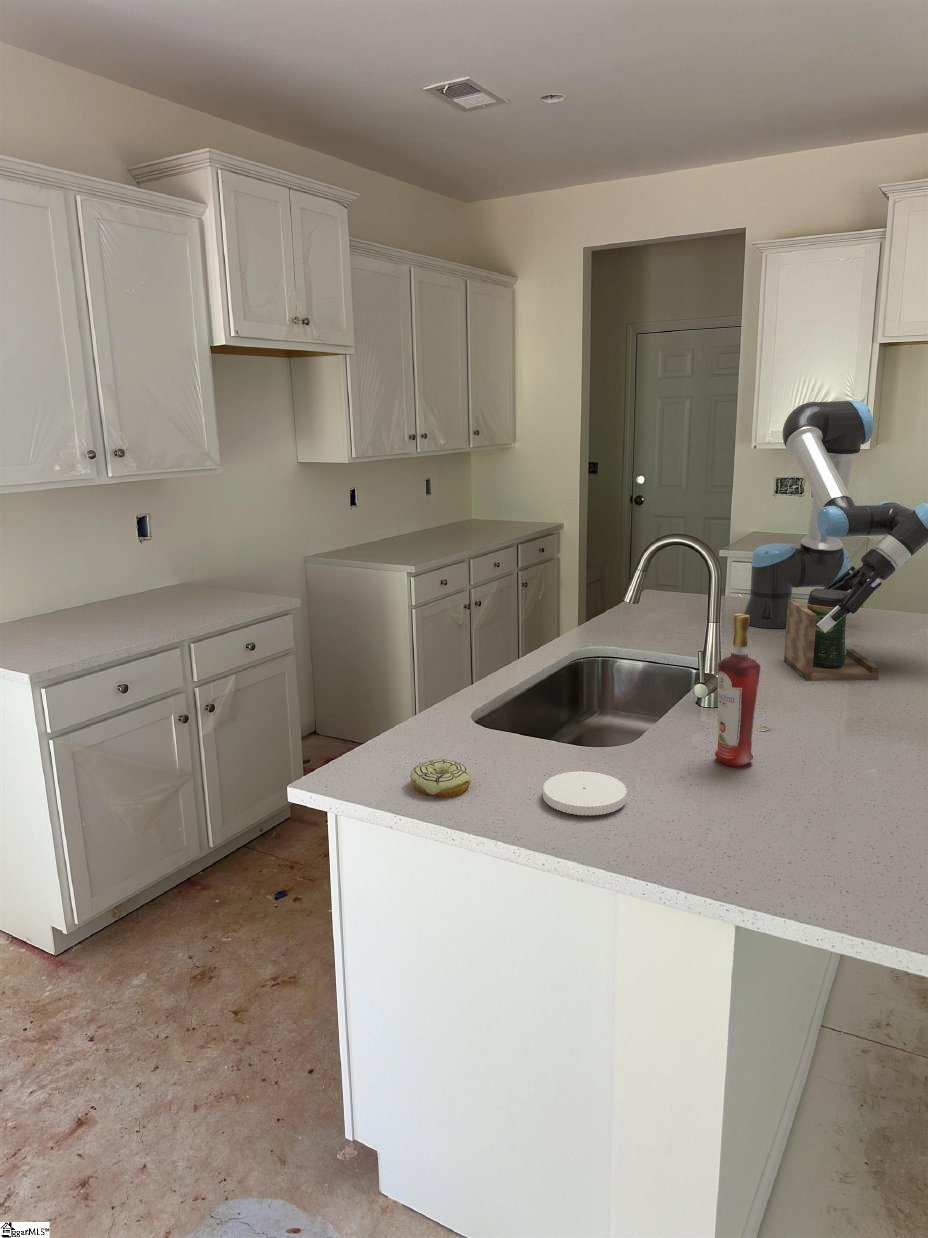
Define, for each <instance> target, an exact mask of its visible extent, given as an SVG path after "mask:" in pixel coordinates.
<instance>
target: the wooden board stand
mask: <svg viewBox="0 0 928 1238" xmlns="http://www.w3.org/2000/svg"><path fill="white" fill-rule="evenodd" d="M816 618H817V615H816V614H815V613H813V612H812V611H810V610H809V609H807V606H806V607H805V606H804V605H802V604H801V603H799V602H798V601H796V599H792V600H788V608H787V623H786V628H785V638H784V639H785V640H784V651H783V653H784V654H783V656H784V658H783V661H784V663H785V664H786V665H787V666H789V667H790V668H791V669H792V670H793V671H795V672H796V674H797V675H799V677H801V678H802V679H803V680H804V681H865V680H867V681H870V680H871V681H873V680H875V681H877V680H879V673H880V667H879V666H878V665H876V664H874V663H873V662H872V661H870V659H868V658H866V657H864V656H863V655H862V654H860V653H859V652H857V651H856V650H855V649H853V648H845V662H844V664H843V665H842V666H838V667H823V666H817V665H813V657H814V644H815V631H816Z"/></svg>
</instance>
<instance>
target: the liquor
mask: <svg viewBox="0 0 928 1238" xmlns="http://www.w3.org/2000/svg"><path fill="white" fill-rule="evenodd" d="M749 618H750V616H749V615H747V614H743V613H735V614H733V631H734V632H733V639H732V645H731V652H730V655H729V656H726V657H724V658H723V659H721V660H720V661H718V662H717V710H718V711H717V749H716V750H715V752H714V756H715V757H716V759H718V760H719V761H720V762H721V763H722V764H723V765H725V766H727V767H731V768H739V767H744V766H746V765H748V764H749V763H750V762H751V761H753V759H754V755H753V753H752V746H753V737H754V736H753V734H754V724H755V717H756V708H757V707H756V706H757V699H758V693H759V684H760V683H759V681H760V674H761V673H760V672H761V665H760V663H758V662H757V661H756V660H755V659H753V658H751V657H749V652H748V651H749V649H748V647H749V646H748V643H749V642H748V630H749V627H750V625H749Z"/></svg>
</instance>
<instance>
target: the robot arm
mask: <svg viewBox="0 0 928 1238" xmlns="http://www.w3.org/2000/svg"><path fill="white" fill-rule="evenodd" d="M873 433H874V420H873V415H872V413H871V410H870V408H869V406H868V405H866V403H864V402H862V401H858V400H857V401H855V400H854V401H853V400H832V401H810V402H809V401H808V402H805V403H802V404H800V405H798V406H797V407H795V408H794V409H793V410H792V411H791V412H790V413H789V415H787V418H786V420H785V421H784V424H783V427H782V440H783V444H784V447H785V449H786V450H787V452H788V453H789V454H790V455H792V456H794V458H795V460H796V462H797V464H798V466H799V468H800V470H801V472H802V474H803V476H804V478H805V480H806V482H807V484H808V486H809V488H810V490H811V493H812V494H813V498H812V504H811V510H810V511H811V512H810V515H809V517H810V518H809V523H808V524H809V525H808V529H807V535H805V536H804V537H803V538H802V539H801V540H800V545H799V547H797V548H796V547H795V545H794V544H793V543H789V542H787V543H786V542H783V543H782V542H781V543H779V542H778V543H769V544H764V545H759V546H758V547H756V548H755V549H754V550H753V553H752V560H751V562H750V563H751V576H750V578H751V579H750V594H749V595H750V596H749V599H748V601H747V604H746V606H745V609H744V611H743V613H742V614H747V615H749V616H750V618H749V626H751V627H755V628H763V629H786V623H787V608H788V600H793V597H792V594H793V589H796V588H797V589H798V588H822V589H833V590H840V591H848V592H849V594H848V595H847V597H846V598H845V600H844V601H843V603H838V605H839V606H840V607H841V608H840V607H839V606H836V607H835V608H834V609H833V610H832V611H831V612H830V613H829V614H828V615H826V616H825V617H824V618H823V619H822V620H821V621H820V622H819V623H818V624H816V625H817V626H818V627H819V628H820V629H821V630H822V631H823V632H824V633H826V632H827V631H828V630H829V629H830V628H831V627H832V626H833V625H835V624H836V623H837V622H838V621H839V620H840V619H841V618H842V617H844V616H845V615H846V613H847V615H849V614H851V615H852V614H855V613H857V612H858V611H859V609H860V608H861V607H862V606H863V605H864V603H865V602H866V601H867V600H868V599H869V598H870V597H871V595H872V594H873V593H874V592H875V591H876V590H877V589H878V588H879V587H880V586H881V585H883V584H882V582H881V581H880V580H882V581H886V580H887V579H888V578H890V577H891V576H892V575H893V574H894V573H895V572H896V569H897V568H900V567H901V566H902V565H904V564H907V563H908V560H909V559H910V558H911V557H913V556H914V555H915V554H916V553H918V551H919V550H921V549H922V548H923V547H924V546H925V545H926V544H928V503H927V502H922V503H921V504H919V505H918V506H916V507H914V509H910V508H909V507H906V506H903V505H901V504H900V503H898V502H894V501H893V502H892V501H886V500H885V501H881V502H879V503H878V504H873V505H869V504H868V505H856V504H855V502H854V501H853V499H852V496H851V495H850V493H849V491H848V487H849V482H850V481H849V480H850V476H851V472H852V471H851V470H852V465H853V464H852V463H853V459H854V458H855V457H856V456H857V455H859V454H860V453H861V452H860V451H861V448H862V445H863V446H864V445H866V444H867V443H868V442H869V441H870V439H871V438H872V437H873ZM877 536H879V537H880V536H883V537H882V538H881V539H880V540H879V541H878V542H876V543H875V544H874V548H872V549H871V548H870V549H869V550H868V551H867V552H866V553H865V554H864V555H863V556H862V557H861V558H860V560H861V563H862V565H861V566H860V567H858V568H856V567H855V566H854V565H853V566H850V560H849V553H848V551H847V549H845V547H844V543H843V542H842V541H841V540H840V538H845V537H846V538H847V537H849V538H851V537H877ZM849 566H850V567H849ZM879 579H880V580H879ZM806 608H807V607H806ZM807 609H808V608H807Z"/></svg>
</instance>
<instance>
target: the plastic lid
mask: <svg viewBox="0 0 928 1238" xmlns="http://www.w3.org/2000/svg"><path fill="white" fill-rule="evenodd" d="M627 791H628V790H627V787H626V785H625V784H624V782H622V781H621V780H619V779H618V778H616V777H614V776H611V775H608V774H604V773H601V772H600V773H599V772H594V771H593V772H592V771H583V770H582V771H569V772H562V773H558V774H556V775H553V776H551V777H550V778H547V780H546V781H545V782H544V783H543V785H542V797H543V800H544V802H545V803H546V804H547V805H549V807H551V808H553V809H554V810H557V811H559V812H563V813H566V814H570V815H571V814H573V815H577V816H599V815H605V814H609V813H611V814H612V813H613V812H615V811H618V810H620V809H621V808H622V807H624V806H625V804H626V803H627V796H628V795H627V793H628V792H627Z"/></svg>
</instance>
